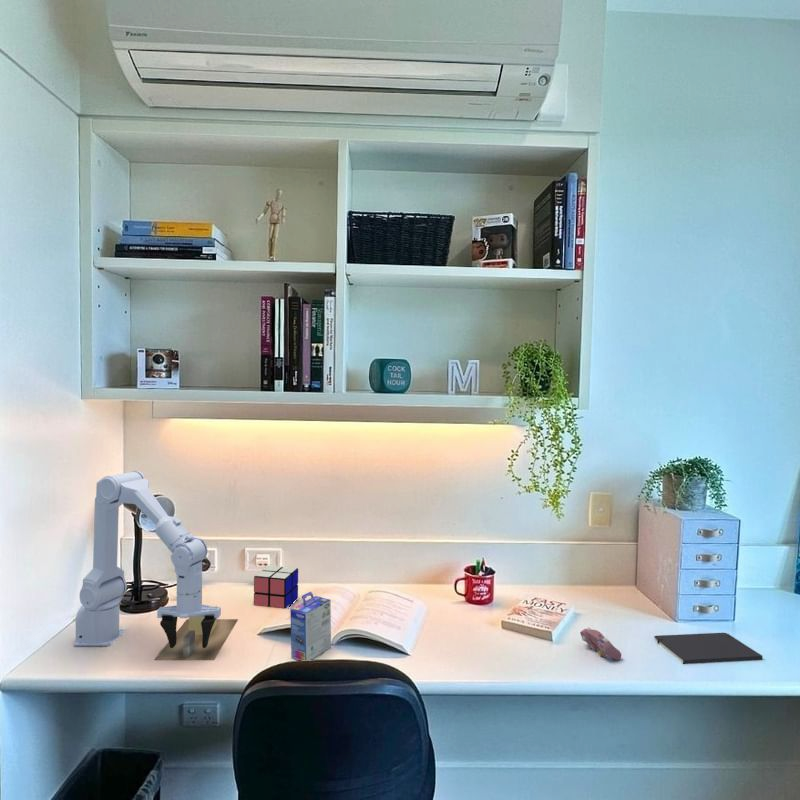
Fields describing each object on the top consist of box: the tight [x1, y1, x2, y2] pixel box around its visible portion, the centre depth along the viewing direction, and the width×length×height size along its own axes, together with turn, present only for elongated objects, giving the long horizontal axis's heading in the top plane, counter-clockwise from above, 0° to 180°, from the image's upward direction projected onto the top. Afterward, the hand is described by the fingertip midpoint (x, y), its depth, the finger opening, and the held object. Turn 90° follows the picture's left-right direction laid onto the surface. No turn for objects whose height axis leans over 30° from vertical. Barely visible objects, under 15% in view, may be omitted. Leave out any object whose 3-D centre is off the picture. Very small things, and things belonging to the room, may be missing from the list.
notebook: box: [653, 632, 763, 665], centre depth 141 cm, size 13×2×21 cm
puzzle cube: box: [253, 565, 299, 610], centre depth 164 cm, size 10×10×10 cm
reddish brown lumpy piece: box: [579, 626, 622, 661], centre depth 138 cm, size 10×5×7 cm, turn 21°
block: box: [188, 604, 218, 635], centre depth 144 cm, size 6×6×6 cm
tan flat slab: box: [153, 618, 239, 661], centre depth 140 cm, size 14×22×6 cm, turn 2°
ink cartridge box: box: [289, 591, 332, 661], centre depth 135 cm, size 10×6×14 cm, turn 149°
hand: (189, 646), depth 132 cm, fingers open, 7 cm apart
